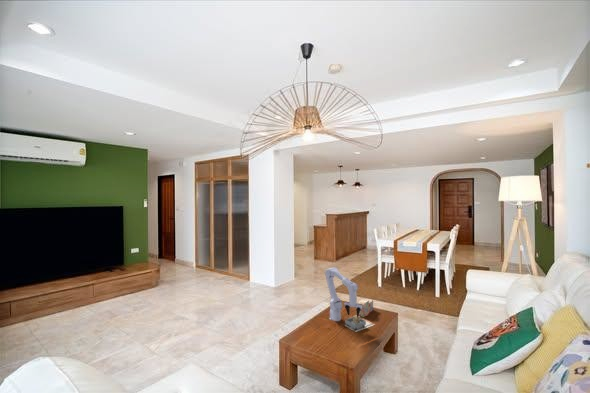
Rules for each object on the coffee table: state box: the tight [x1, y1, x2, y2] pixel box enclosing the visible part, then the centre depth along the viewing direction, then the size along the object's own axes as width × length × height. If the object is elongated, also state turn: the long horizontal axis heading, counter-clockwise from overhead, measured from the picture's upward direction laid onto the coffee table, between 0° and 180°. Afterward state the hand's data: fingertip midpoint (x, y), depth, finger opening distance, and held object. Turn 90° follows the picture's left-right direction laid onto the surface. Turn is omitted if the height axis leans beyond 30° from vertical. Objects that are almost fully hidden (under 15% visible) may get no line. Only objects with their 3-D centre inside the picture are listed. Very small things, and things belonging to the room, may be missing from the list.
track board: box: [344, 318, 376, 333], centre depth 230 cm, size 13×22×1 cm, turn 122°
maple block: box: [352, 314, 361, 324], centre depth 228 cm, size 4×4×5 cm
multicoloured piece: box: [357, 298, 374, 318], centre depth 254 cm, size 21×6×12 cm, turn 143°
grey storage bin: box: [344, 316, 366, 330], centre depth 227 cm, size 11×12×5 cm
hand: (353, 315), depth 226 cm, fingers open, 7 cm apart
